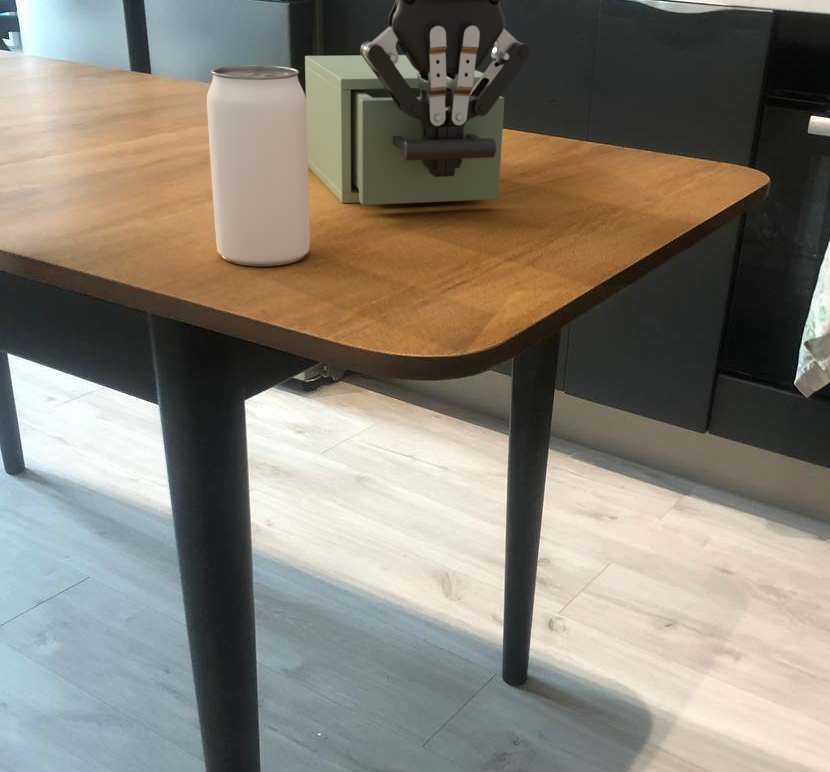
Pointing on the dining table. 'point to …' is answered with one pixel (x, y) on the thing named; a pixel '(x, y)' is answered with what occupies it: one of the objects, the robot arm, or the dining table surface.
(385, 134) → the drawer
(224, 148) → the can
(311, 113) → the cabinet
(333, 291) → the dining table surface
